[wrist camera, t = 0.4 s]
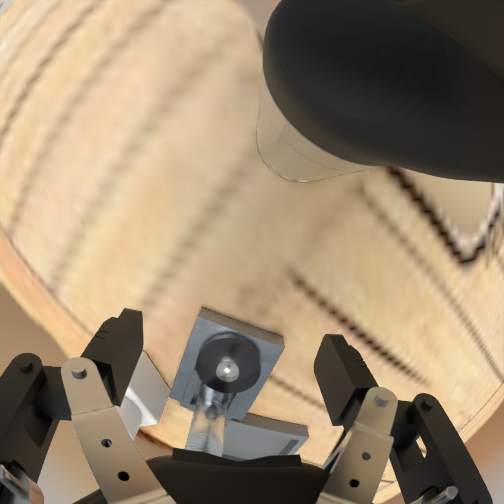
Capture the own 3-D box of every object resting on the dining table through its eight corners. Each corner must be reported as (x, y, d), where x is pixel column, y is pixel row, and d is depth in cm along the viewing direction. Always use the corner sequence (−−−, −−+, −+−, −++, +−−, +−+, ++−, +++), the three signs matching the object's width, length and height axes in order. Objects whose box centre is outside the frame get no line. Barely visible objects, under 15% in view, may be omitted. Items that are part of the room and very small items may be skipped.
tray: (230, 408, 34) (229, 420, 31) (306, 425, 35) (309, 437, 32) (206, 450, 36) (204, 460, 33) (272, 464, 37) (273, 475, 34)
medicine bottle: (133, 398, 34) (104, 454, 22) (106, 360, 32) (66, 412, 21) (172, 390, 33) (148, 454, 21) (144, 349, 32) (107, 409, 20)
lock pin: (201, 373, 30) (177, 468, 16) (238, 386, 30) (231, 482, 16) (191, 398, 30) (167, 487, 17) (225, 409, 31) (215, 499, 17)
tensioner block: (201, 306, 31) (193, 326, 26) (282, 336, 31) (287, 359, 26) (173, 385, 33) (164, 408, 28) (242, 408, 34) (241, 433, 29)
